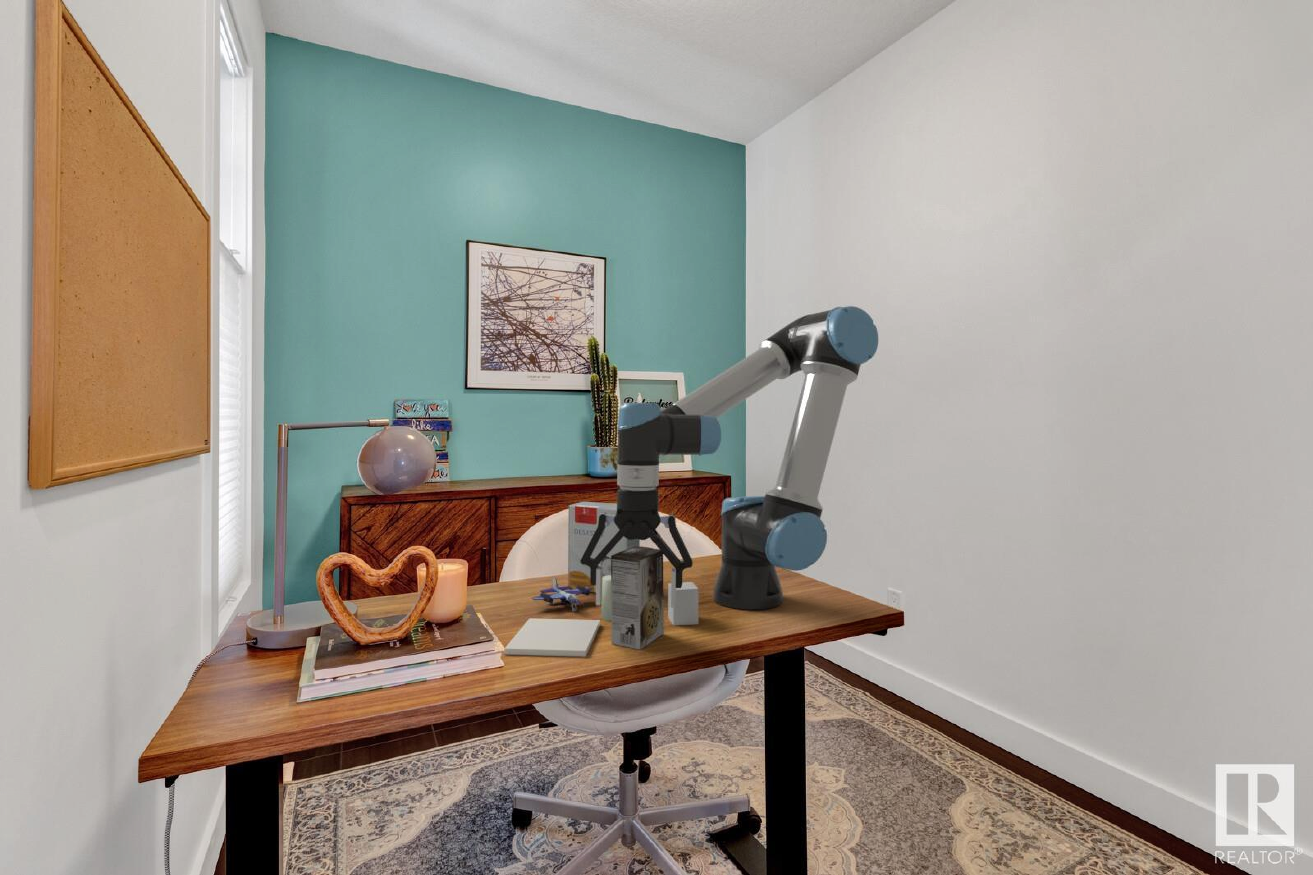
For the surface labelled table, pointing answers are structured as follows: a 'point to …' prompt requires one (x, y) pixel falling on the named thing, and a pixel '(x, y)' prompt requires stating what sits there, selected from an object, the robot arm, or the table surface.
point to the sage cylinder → (606, 598)
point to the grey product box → (636, 597)
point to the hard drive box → (580, 535)
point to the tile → (554, 637)
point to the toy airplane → (563, 594)
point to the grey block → (684, 605)
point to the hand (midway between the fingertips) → (636, 604)
